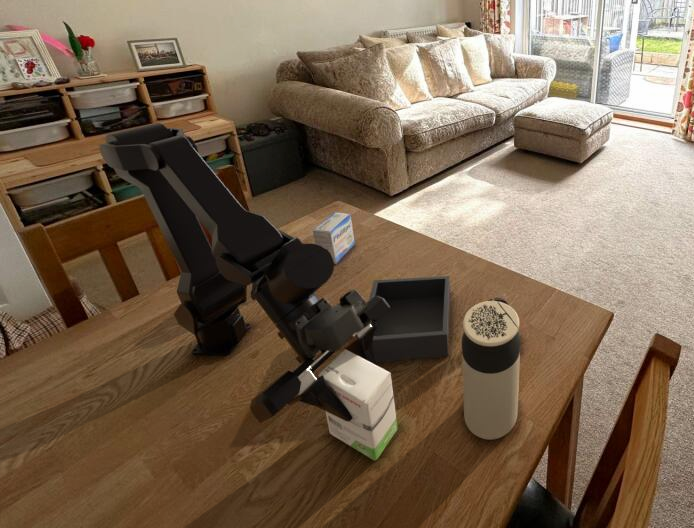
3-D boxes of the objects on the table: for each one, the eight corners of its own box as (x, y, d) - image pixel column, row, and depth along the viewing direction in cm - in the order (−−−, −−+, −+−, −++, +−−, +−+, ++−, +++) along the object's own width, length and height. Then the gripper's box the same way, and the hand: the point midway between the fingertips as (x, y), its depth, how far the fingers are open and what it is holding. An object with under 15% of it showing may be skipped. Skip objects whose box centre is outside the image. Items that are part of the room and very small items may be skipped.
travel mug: (474, 450, 55) (472, 354, 49) (457, 399, 62) (453, 308, 55) (526, 427, 58) (531, 333, 52) (505, 381, 65) (507, 292, 58)
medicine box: (335, 265, 90) (330, 232, 87) (318, 262, 91) (311, 229, 88) (355, 244, 97) (350, 213, 94) (338, 242, 98) (333, 211, 95)
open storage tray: (359, 363, 67) (356, 341, 65) (376, 300, 81) (374, 280, 79) (448, 356, 69) (447, 334, 67) (450, 295, 82) (449, 275, 81)
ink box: (399, 429, 58) (393, 371, 53) (374, 463, 53) (366, 404, 49) (353, 402, 61) (344, 346, 56) (327, 433, 57) (315, 375, 52)
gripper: (242, 344, 42) (332, 465, 42) (373, 249, 58) (440, 336, 57) (217, 368, 48) (295, 474, 48) (342, 276, 64) (402, 355, 63)
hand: (365, 402), depth 54 cm, fingers closed on ink box, 5 cm apart
